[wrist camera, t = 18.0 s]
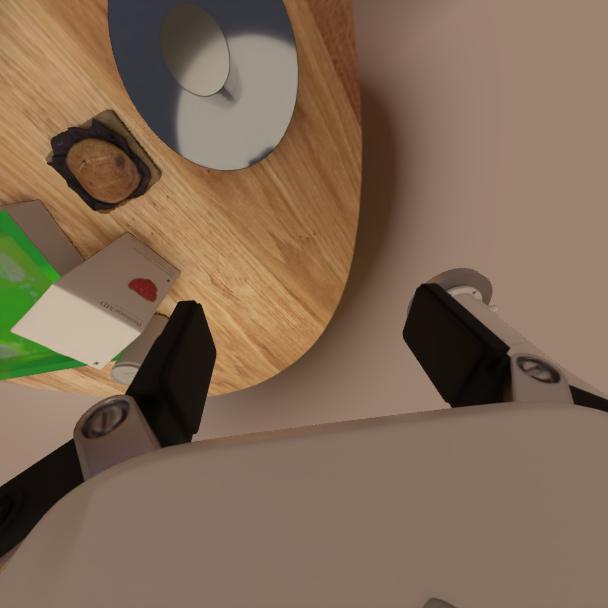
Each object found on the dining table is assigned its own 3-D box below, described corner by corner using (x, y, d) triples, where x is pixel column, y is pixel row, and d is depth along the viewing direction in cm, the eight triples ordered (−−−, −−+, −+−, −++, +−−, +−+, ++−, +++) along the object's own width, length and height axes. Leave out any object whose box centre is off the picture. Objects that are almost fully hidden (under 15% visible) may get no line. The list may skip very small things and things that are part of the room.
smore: (110, 103, 26) (89, 98, 23) (167, 180, 31) (157, 184, 28) (39, 152, 27) (12, 154, 24) (105, 218, 32) (88, 226, 29)
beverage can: (140, 312, 42) (103, 366, 32) (169, 312, 42) (141, 364, 33) (149, 332, 44) (116, 387, 35) (176, 332, 45) (152, 385, 36)
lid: (293, -68, 16) (305, -158, 11) (299, 167, 24) (307, 175, 19) (72, -81, 14) (-26, -190, 10) (158, 172, 23) (128, 182, 18)
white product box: (183, 272, 38) (145, 335, 26) (149, 302, 41) (100, 373, 29) (127, 229, 33) (49, 282, 21) (92, 266, 36) (5, 333, 24)
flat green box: (-168, 229, 29) (-238, 245, 25) (39, 199, 30) (4, 210, 26) (7, 360, 44) (-20, 383, 40) (141, 338, 45) (129, 358, 41)
